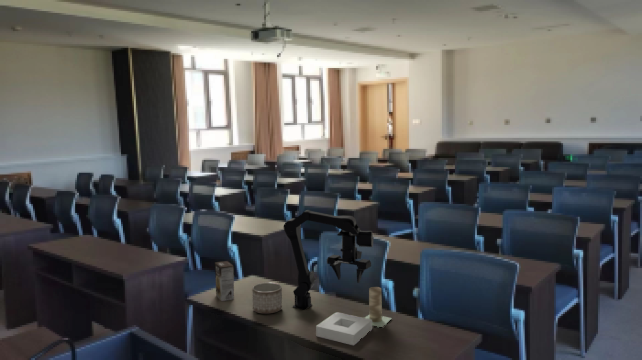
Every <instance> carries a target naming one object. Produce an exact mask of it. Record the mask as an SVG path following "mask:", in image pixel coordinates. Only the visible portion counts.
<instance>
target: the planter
mask: <svg viewBox="0 0 642 360" xmlns="http://www.w3.org/2000/svg"><path fill="white" fill-rule="evenodd" d="M282 288H283V286H282V285H281V284H279V283H277V282H271V281H270V282H260V283H257V284H254V285H253V286H252V289H251V291H252V292H251V293H252V310H253V311H254V312H255V313H259V314H273V313H274V314H275V313H277V312H279V311H281V310H282V308H283V289H282Z"/></svg>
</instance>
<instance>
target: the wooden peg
mask: <svg viewBox="0 0 642 360" xmlns="http://www.w3.org/2000/svg"><path fill="white" fill-rule="evenodd" d="M382 301H383V300H382V287H379V286H372V287H369V288H368V303H369V304H368V305H369V310H368V311H369V314H370V319H371V320H372V322H380V321H382V316H383V313H382V312H383V307H382V304H383V303H382ZM369 314H368V315H369Z"/></svg>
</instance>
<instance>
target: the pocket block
mask: <svg viewBox="0 0 642 360" xmlns="http://www.w3.org/2000/svg"><path fill="white" fill-rule="evenodd" d="M372 330H373V326H372V320H371V319H367V318H365V317H361V316H356V315H351V314H349V313H348V314H347V313H343V312H338V311H336V312H334V313H333V314H331V315H330V316H329V317H327V318H325V319H324V320H323V321H321V322H320V323H318V324H317V325H315V336H316V337H318V338H322V339H326V340H330V341H335V342H339V343H343V344H345V345H346V344H347V345H350V346H355V345H356V344H357V343H359V341H360V339H361V338H362V339H363V338H364V337H365V336H366V335H367V333H368V332H369V331H370V332H371V331H372ZM370 332H369V333H370ZM369 333H368V334H369ZM362 339H361V340H362Z"/></svg>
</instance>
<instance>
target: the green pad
mask: <svg viewBox="0 0 642 360" xmlns="http://www.w3.org/2000/svg"><path fill="white" fill-rule="evenodd" d="M364 318H367V319H370V314H368V315H366V316H365V317H364ZM391 319H392V320H393V318H392V317H388V316H384V315H382V321H380V322H372V327H374V326H377V327H376V328H379V327H383V326H384V325H385V326H387V325H388V324H389V323H390V322H391V321H392V320H391ZM390 320H391V321H390ZM389 321H390V322H389ZM388 322H389V323H388ZM387 323H388V324H387ZM385 326H384V327H385ZM384 327H383V328H384Z"/></svg>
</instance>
